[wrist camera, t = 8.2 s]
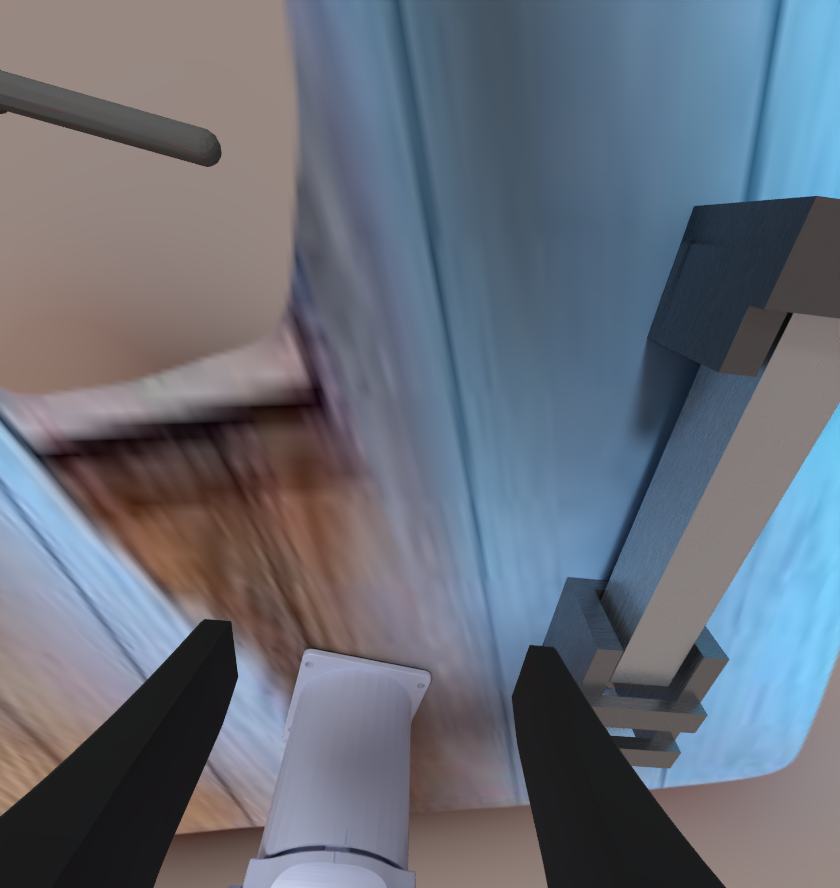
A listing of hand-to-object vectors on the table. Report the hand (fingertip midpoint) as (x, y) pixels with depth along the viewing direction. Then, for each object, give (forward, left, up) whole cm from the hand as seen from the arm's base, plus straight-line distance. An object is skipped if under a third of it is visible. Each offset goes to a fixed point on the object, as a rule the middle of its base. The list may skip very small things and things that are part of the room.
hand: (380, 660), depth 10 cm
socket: (+11, -11, -10) cm, 19 cm away
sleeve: (-8, -15, -10) cm, 20 cm away
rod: (+2, -13, -9) cm, 16 cm away
